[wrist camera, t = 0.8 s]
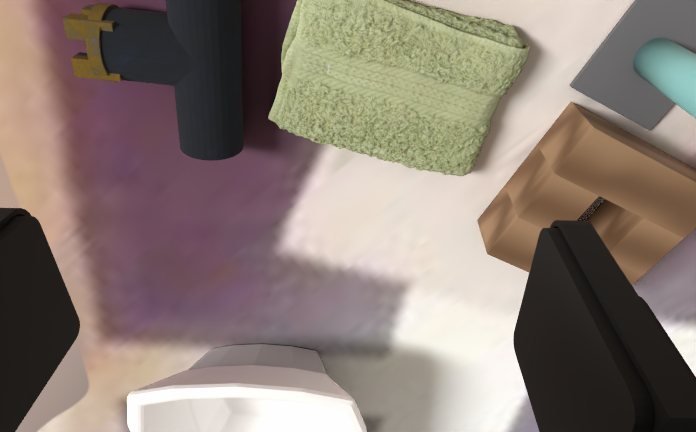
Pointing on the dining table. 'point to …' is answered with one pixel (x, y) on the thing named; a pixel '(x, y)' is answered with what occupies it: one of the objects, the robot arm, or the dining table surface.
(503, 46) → the washcloth
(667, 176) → the hole block
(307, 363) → the bowl
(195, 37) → the pipe connector
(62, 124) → the dining table surface
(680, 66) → the peg
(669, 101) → the mat
